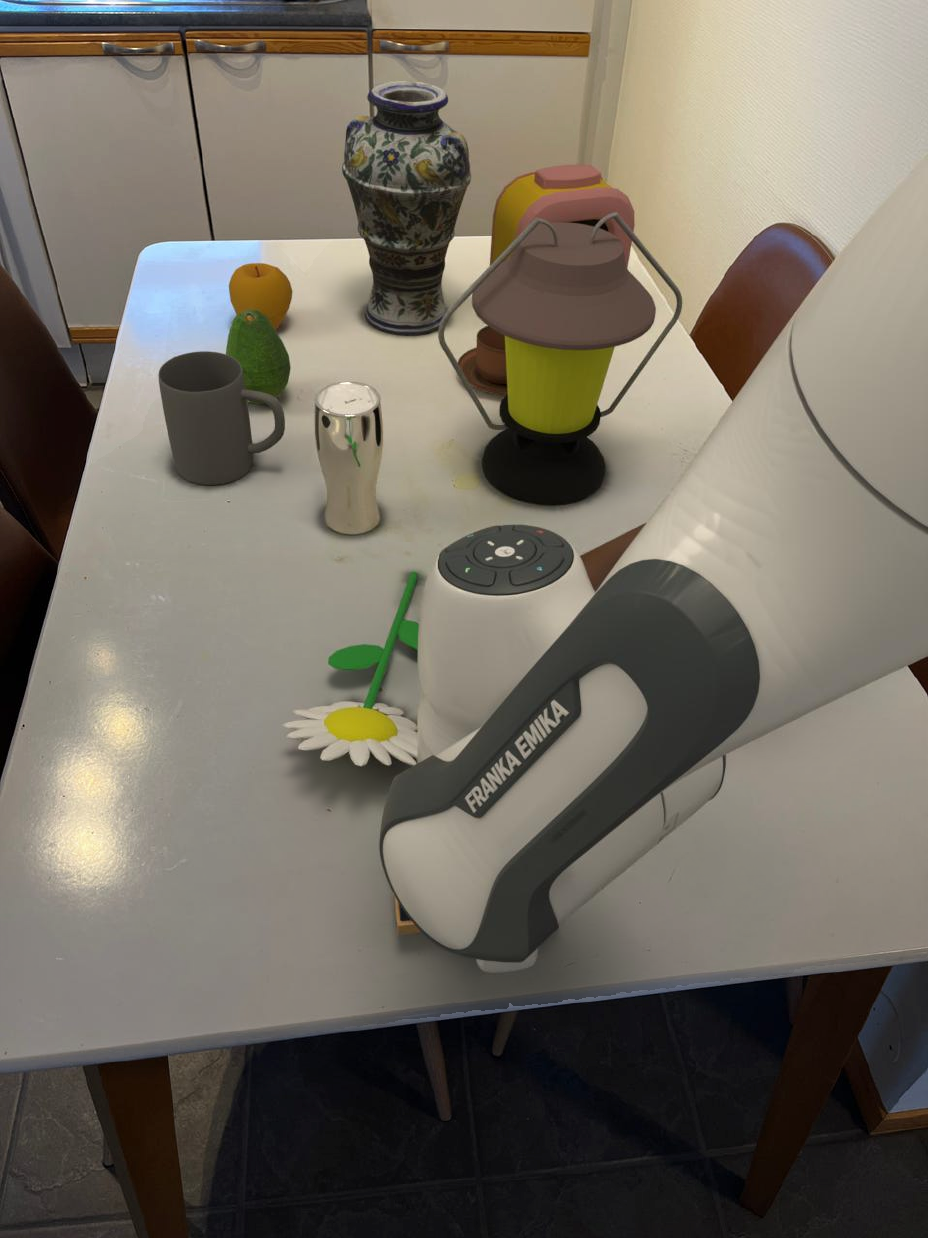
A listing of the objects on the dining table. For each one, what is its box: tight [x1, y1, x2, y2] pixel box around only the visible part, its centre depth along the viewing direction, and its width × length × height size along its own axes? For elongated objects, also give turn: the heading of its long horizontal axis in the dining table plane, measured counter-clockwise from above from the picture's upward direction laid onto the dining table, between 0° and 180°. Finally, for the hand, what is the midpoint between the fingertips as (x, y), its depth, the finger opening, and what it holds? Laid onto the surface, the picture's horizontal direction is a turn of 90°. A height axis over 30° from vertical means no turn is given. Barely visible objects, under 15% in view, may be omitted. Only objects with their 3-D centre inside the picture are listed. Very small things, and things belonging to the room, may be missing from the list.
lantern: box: [437, 212, 683, 506], centre depth 105 cm, size 25×19×30 cm
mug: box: [157, 350, 286, 486], centre depth 108 cm, size 14×9×12 cm
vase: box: [341, 80, 472, 337], centre depth 132 cm, size 17×17×30 cm
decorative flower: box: [282, 571, 419, 767], centre depth 88 cm, size 13×5×30 cm
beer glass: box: [314, 381, 384, 536], centre depth 101 cm, size 7×7×15 cm
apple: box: [228, 262, 293, 330], centre depth 134 cm, size 8×8×9 cm
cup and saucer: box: [457, 325, 508, 395], centre depth 128 cm, size 12×12×6 cm
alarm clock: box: [489, 164, 635, 269], centre depth 140 cm, size 18×11×19 cm, turn 112°
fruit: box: [225, 310, 292, 405], centre depth 119 cm, size 8×8×12 cm
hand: (478, 876), depth 69 cm, fingers closed on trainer, 4 cm apart
